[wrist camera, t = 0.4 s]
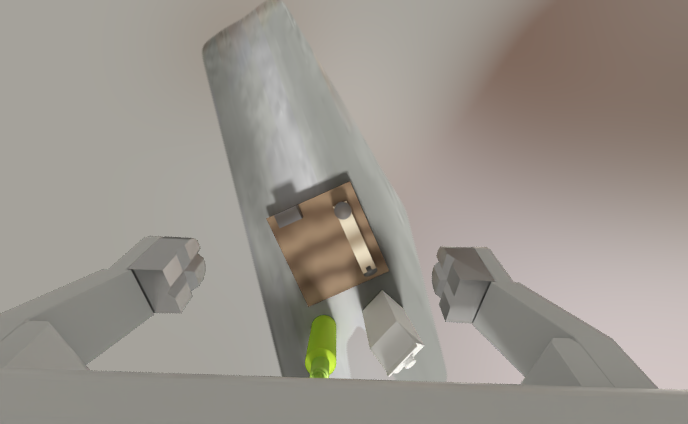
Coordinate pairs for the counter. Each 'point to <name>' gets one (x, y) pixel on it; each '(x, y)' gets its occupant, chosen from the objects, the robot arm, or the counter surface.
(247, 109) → the counter surface
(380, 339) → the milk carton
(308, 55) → the counter surface
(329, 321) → the soap dispenser
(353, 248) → the folding leg
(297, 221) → the wooden tray
